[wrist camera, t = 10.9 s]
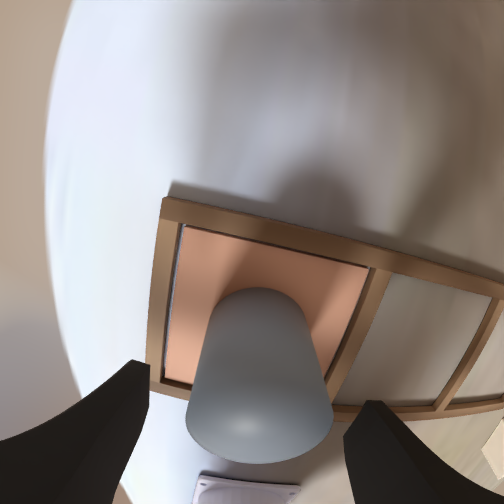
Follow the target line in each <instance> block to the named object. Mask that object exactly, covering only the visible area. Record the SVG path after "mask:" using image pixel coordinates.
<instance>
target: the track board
mask: <svg viewBox="0 0 504 504" xmlns="http://www.w3.org/2000/svg"><path fill="white" fill-rule="evenodd" d="M181 223H183V224H187V225H192V226H196V227H201V228H205V229H210V230H214V231H219V232H223V233H228V234H232V235H236V236H241V237H245V238H250V239H254V240H258V241H263V242H267V243H271V244H276V245H280V246H284V247H289V248H293V249H297V250H302V251H306V252H310V253H314V254H319V255H323V256H327V257H331V258H335V259H340V260H344V261H348V262H352V263H356V264H360V265H356V264H352V263H348V262H344V261H340V260H335V259H331V258H327V257H323V256H319V255H314V254H310V253H306V252H301V251H297V250H293V249H289V248H284V247H280V246H276V245H271V244H267V243H263V242H258V241H254V240H249V239H245V238H241V237H236V236H232V235H227V234H223V233H219V232H214V231H210V230H205V229H201V228H196V227H192V226H187V225H186V226H185V227H184V232H183V238H182V244H181V250H180V256H179V263H178V269H177V276H176V283H175V290H174V297H173V305H172V313H171V321H170V330H169V339H168V348H167V359H166V370H165V376H162V374H163V361H164V350H165V340H166V330H167V321H168V312H169V304H170V296H171V289H172V281H173V274H174V267H175V260H176V254H177V247H178V241H179V235H180V229H181ZM361 265H365V266H369V267H371V268H370V271H369V269H368V268H367V267H365V266H361ZM368 271H369V273H368ZM392 272H393V273H397V274H402V275H406V276H410V277H414V278H418V279H422V280H426V281H430V282H434V283H438V284H442V285H446V286H450V287H454V288H457V289H461V290H465V291H469V292H473V293H477V294H481V295H485V296H489V297H492V298H493V299H492V301H491V303H490V306H489V308H488V310H487V312H486V314H485V317H484V319H483V321H482V323H481V325H480V327H479V329H478V331H477V333H476V335H475V337H474V339H473V341H472V342H471V344H470V346H469V348H468V350H467V352H466V353H465V355H464V357H463V359H462V360H461V362H460V364H459V365H458V367H457V369H456V370H455V372H454V374H453V375H452V377H451V378H450V380H449V382H448V383H447V385H446V386H445V388H444V389H443V391H442V392H441V394H440V395H439V397H438V398H437V399H436V401H435V402H434V404H433V405H432V406H416V407H389V408H390V409H391V410H392V411H393V412H394V413H395V414H396V415H397V416H398V417H399V419H400V420H401V421H418V420H430V419H441V418H450V417H457V416H465V415H471V414H477V413H483V412H489V411H494V410H499V409H503V408H504V394H503V395H502V397H501V398H500V399H493V400H486V401H479V402H471V403H461V404H450V405H448V404H449V402H450V401H451V399H452V398H453V397H454V395H455V394H456V392H457V391H458V389H459V388H460V386H461V385H462V383H463V382H464V380H465V379H466V377H467V375H468V374H469V372H470V371H471V369H472V367H473V366H474V364H475V362H476V361H477V359H478V357H479V355H480V354H481V352H482V350H483V348H484V346H485V345H486V343H487V341H488V339H489V337H490V335H491V333H492V331H493V329H494V327H495V325H496V323H497V321H498V319H499V317H500V315H501V313H502V310H503V308H504V284H502V283H499V282H496V281H493V280H490V279H487V278H484V277H480V276H477V275H474V274H471V273H468V272H464V271H461V270H458V269H455V268H451V267H448V266H445V265H441V264H438V263H435V262H431V261H428V260H424V259H421V258H417V257H414V256H410V255H407V254H403V253H400V252H396V251H393V250H389V249H386V248H382V247H378V246H375V245H371V244H367V243H363V242H360V241H356V240H352V239H348V238H345V237H341V236H337V235H333V234H329V233H325V232H321V231H317V230H313V229H309V228H305V227H301V226H297V225H293V224H289V223H285V222H281V221H277V220H272V219H268V218H264V217H260V216H255V215H251V214H247V213H242V212H238V211H233V210H229V209H224V208H220V207H215V206H211V205H206V204H202V203H197V202H192V201H187V200H183V199H178V198H173V197H168V196H166V197H164V198H162V204H161V210H160V216H159V223H158V229H157V237H156V244H155V251H154V260H153V268H152V277H151V287H150V297H149V309H148V322H147V338H146V358H145V363H146V364H149V365H150V391H153V392H157V393H160V394H164V395H168V396H172V397H175V398H179V399H183V400H188V401H189V399H190V395H191V391H192V386H193V382H194V378H195V374H196V370H197V366H198V362H199V358H200V354H201V350H202V346H203V342H204V338H205V334H206V330H207V326H208V322H209V318H210V315H211V313H212V311H213V310H214V308H215V307H216V305H217V304H218V303H219V302H220V301H221V300H222V299H224V298H225V297H226V296H228V295H230V294H231V293H234V292H236V291H238V290H241V289H246V288H252V287H264V288H271V289H274V290H278V291H280V292H282V293H284V294H286V295H288V296H289V297H291V298H292V299H293V300H294V301H295V302H296V303H297V304H298V305H299V306H300V308H301V309H302V311H303V313H304V315H305V318H306V321H307V324H308V328H309V331H310V334H311V337H312V341H313V344H314V347H315V351H316V354H317V357H318V361H319V364H320V367H321V371H322V374H323V378H324V376H325V374H326V372H327V370H328V367H329V365H330V363H331V361H332V359H333V357H334V355H335V352H336V350H337V348H338V346H339V343H340V341H341V339H342V337H343V334H344V332H345V329H346V327H347V325H348V322H349V320H350V318H351V315H352V313H353V310H354V308H355V305H356V303H357V300H358V297H359V295H360V292H361V290H362V287H363V284H364V282H365V279H366V276H367V273H368V276H367V279H366V282H365V284H364V287H363V290H362V292H361V295H360V298H359V300H358V303H357V305H356V308H355V310H354V313H353V315H352V318H351V320H350V322H349V325H348V327H347V330H346V332H345V334H344V337H343V339H342V341H341V343H340V346H339V348H338V350H337V352H336V355H335V357H334V359H333V361H332V363H331V365H330V367H329V370H328V372H327V374H326V376H325V378H324V381H325V384H326V388H327V391H328V395H329V398H330V402H331V403H332V402H333V400H334V398H335V396H336V394H337V393H338V391H339V389H340V387H341V385H342V383H343V382H344V380H345V378H346V376H347V374H348V372H349V370H350V368H351V366H352V364H353V362H354V360H355V358H356V356H357V354H358V352H359V350H360V348H361V346H362V343H363V341H364V339H365V337H366V335H367V333H368V330H369V328H370V326H371V324H372V321H373V319H374V317H375V315H376V312H377V310H378V307H379V305H380V303H381V300H382V298H383V295H384V293H385V290H386V288H387V285H388V283H389V280H390V277H391V275H392ZM362 407H363V406H342V405H332V409H333V415H334V418H333V421H337V422H353V421H354V420H355V418H356V417H357V415H358V414H359V412H360V411H361V409H362Z"/></svg>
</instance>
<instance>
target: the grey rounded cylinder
mask: <svg viewBox="0 0 504 504" xmlns="http://www.w3.org/2000/svg"><path fill="white" fill-rule="evenodd" d="M333 418H334V415H333V409H332V405H331V402H330V398H329V395H328V391H327V388H326V384H325V381H324V378H323V374H322V371H321V367H320V364H319V361H318V357H317V354H316V351H315V347H314V344H313V341H312V337H311V334H310V331H309V328H308V324H307V321H306V318H305V315H304V313H303V311H302V309H301V308H300V306H299V305H298V304H297V303H296V302H295V301H294V300H293V299H292V298H291V297H289V296H288V295H286V294H284V293H282V292H280V291H278V290H274V289H271V288H264V287H252V288H246V289H241V290H238V291H236V292H234V293H231V294H230V295H228V296H226V297H225V298H224V299H222V300H221V301H220V302H219V303H218V304H217V305H216V307H215V308H214V310H213V311H212V313H211V315H210V318H209V322H208V326H207V330H206V334H205V338H204V342H203V346H202V350H201V354H200V358H199V362H198V366H197V370H196V374H195V378H194V382H193V386H192V391H191V395H190V399H189V403H188V407H187V412H186V426H187V429H188V432H189V433H190V435H191V437H192V438H193V439H194V440H195V441H196V442H197V443H198V444H199V445H200V446H201V447H202V448H204V449H205V450H207V451H209V452H210V453H212V454H214V455H216V456H219V457H221V458H224V459H227V460H231V461H235V462H241V463H250V464H265V463H274V462H280V461H285V460H288V459H292V458H294V457H297V456H300V455H302V454H304V453H306V452H308V451H309V450H311V449H313V448H314V447H315V446H317V445H318V444H319V443H320V442H321V441H322V440H323V439H324V438H325V437H326V436H327V434H328V433H329V431H330V429H331V427H332V424H333Z"/></svg>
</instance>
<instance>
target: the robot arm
mask: <svg viewBox="0 0 504 504" xmlns="http://www.w3.org/2000/svg"><path fill="white" fill-rule="evenodd" d="M149 390H150V365H149V364H146V363H142V362H139V361H136V360H133V359H132V360H130V361H129V362H128V363H126V364H125V365H124V366H123V367H122V368H121V369H120V370H119V371H117V372H116V373H115V374H114V375H113V376H112V377H110V378H109V379H108V380H107V381H105V382H104V383H103V384H102V385H100V386H99V387H98V388H97V389H95V390H94V391H93V392H91V393H90V394H89V395H87V396H86V397H85V398H83V399H82V400H80V401H79V402H77V403H76V404H75V405H73V406H71V407H70V408H68V409H67V410H65V411H64V412H62V413H61V414H59V415H57V416H56V417H54V418H52V419H50V420H48V421H47V422H45V423H43V424H41V425H39V426H37V427H35V428H32V429H30V430H28V431H25V432H23V433H21V434H19V435H16V436H14V437H11V438H8V439H5V440H1V441H0V504H112V502H113V498H114V494H115V491H116V489H117V486H118V484H119V481H120V479H121V476H122V474H123V472H124V470H125V467H126V465H127V463H128V461H129V458H130V456H131V454H132V452H133V449H134V447H135V445H136V443H137V441H138V438H139V436H140V434H141V431H142V428H143V425H144V422H145V418H146V415H147V412H148V409H149ZM343 440H344V453H345V461H346V466H347V470H348V475H349V479H350V483H351V488H352V492H353V496H354V501H355V504H504V496H501V495H499V494H496V493H494V492H492V491H490V490H487V489H485V488H483V487H481V486H480V485H478V484H476V483H474V482H472V481H471V480H469V479H467V478H466V477H464V476H463V475H461V474H460V473H458V472H457V471H456V470H454V469H453V468H452V467H450V466H449V465H448V464H446V463H445V462H444V461H443V460H441V459H440V458H439V457H438V456H437V455H436V454H435V453H434V452H432V451H431V450H430V449H429V448H428V447H427V446H426V445H425V444H424V443H423V442H422V441H421V440H420V439H419V438H418V437H417V436H416V435H415V434H414V433H413V432H412V431H411V430H410V429H409V428H408V427H407V426H406V425H405V424H404V423H403V422H402V421H401V420H400V419H399V417H398V416H397V415H396V414H395V413H394V412H393V411H392V410H391V409H390V408H389V407H388V406H387V405H386V404H385V403H383V402H382V401H374V400H367V401H366V403H365V404H364V406H363V407H362V409H361V411H360V412H359V414H358V415H357V417H356V418H355V420H354V421H353V423H352V424H351V426H350V427H349V429H348V430H347V432H346V433H345V434H344V436H343ZM299 492H300V486H298V485H279V484H264V483H254V482H244V481H236V480H229V479H222V478H216V477H210V476H204V475H201V476H199V477H198V480H197V483H196V487H195V491H194V495H193V499H192V503H191V504H289V503H290V502H291V501H292V499H293V498H294V497H295V496H296V495H297V494H298V493H299Z"/></svg>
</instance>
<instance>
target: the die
mask: <svg viewBox="0 0 504 504" xmlns="http://www.w3.org/2000/svg"><path fill="white" fill-rule="evenodd" d="M481 450H482V452H483V454H484V455H485V457H486V459H487V461H488V462H489V464H490V466H491V468H492V470H493V471H494V473H495V475H496V477H497V479H498V480H499V479H501V478H503V477H504V418H503V419H502V420H501V421H500V423H499V424H498V426H497V427H496V429H495V430H494V432H493V433H492V435H491V436H490V438H489V439H488V440H487V442H486V443H485V445H484V446H483V447H482V449H481Z"/></svg>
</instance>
